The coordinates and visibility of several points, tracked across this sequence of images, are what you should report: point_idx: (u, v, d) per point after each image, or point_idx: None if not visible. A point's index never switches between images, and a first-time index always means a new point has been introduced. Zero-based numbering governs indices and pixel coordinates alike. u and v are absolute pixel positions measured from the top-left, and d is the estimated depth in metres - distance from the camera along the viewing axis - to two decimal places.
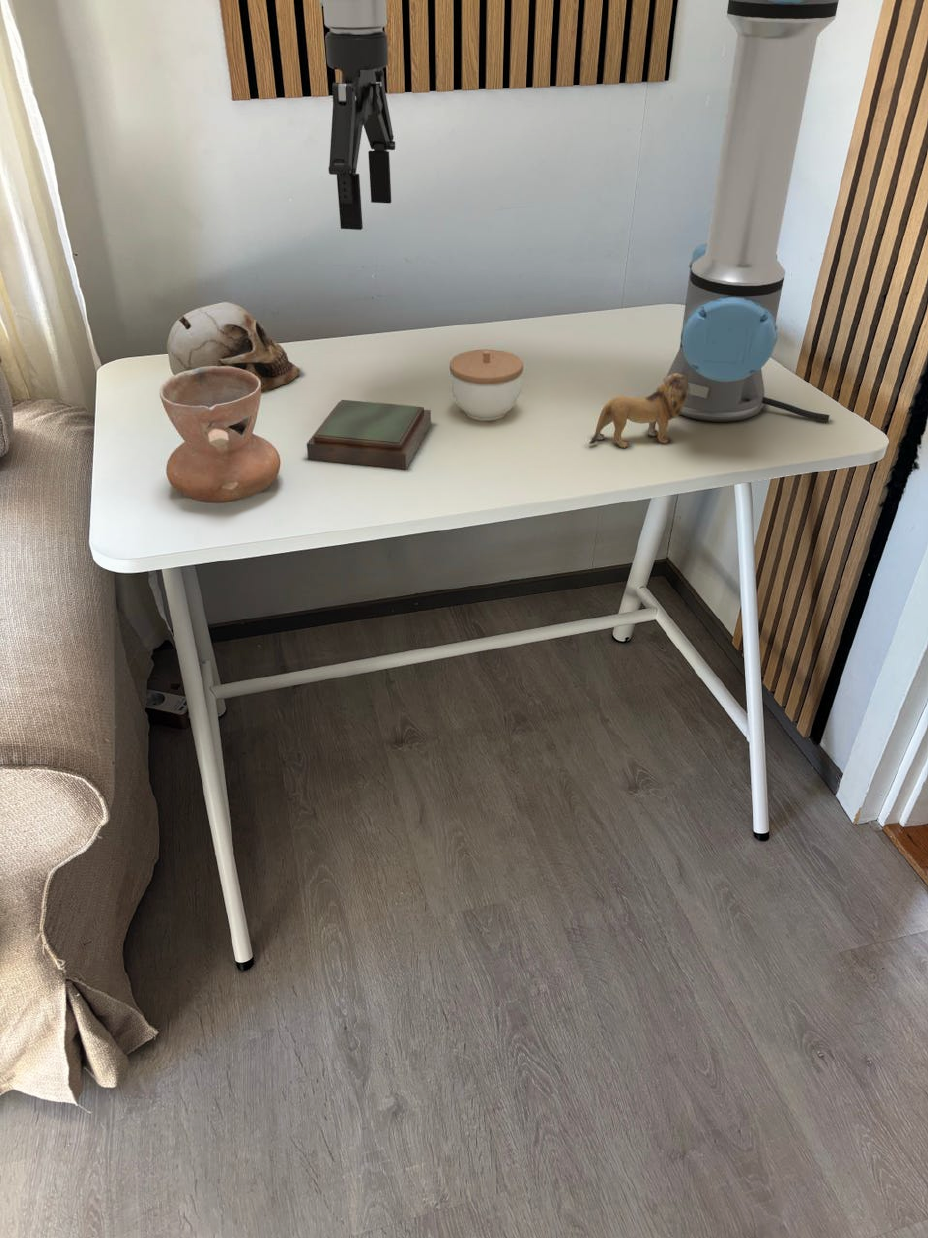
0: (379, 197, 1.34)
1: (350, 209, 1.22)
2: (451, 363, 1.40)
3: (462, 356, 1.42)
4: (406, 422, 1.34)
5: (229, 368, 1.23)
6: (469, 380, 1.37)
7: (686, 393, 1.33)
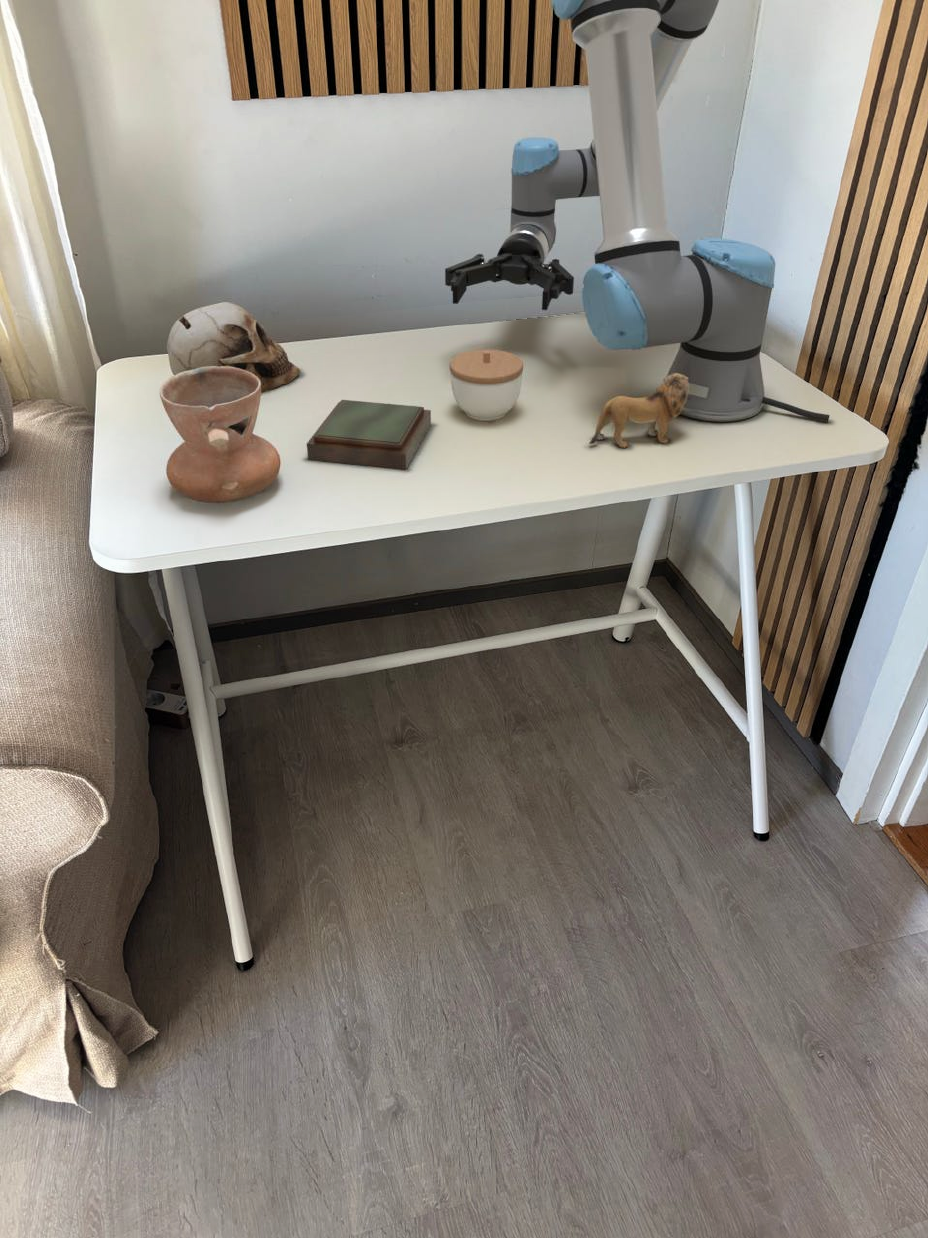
0: None
1: None
2: (451, 363, 1.40)
3: (462, 356, 1.42)
4: (406, 422, 1.34)
5: (229, 368, 1.23)
6: (469, 380, 1.37)
7: (686, 393, 1.33)
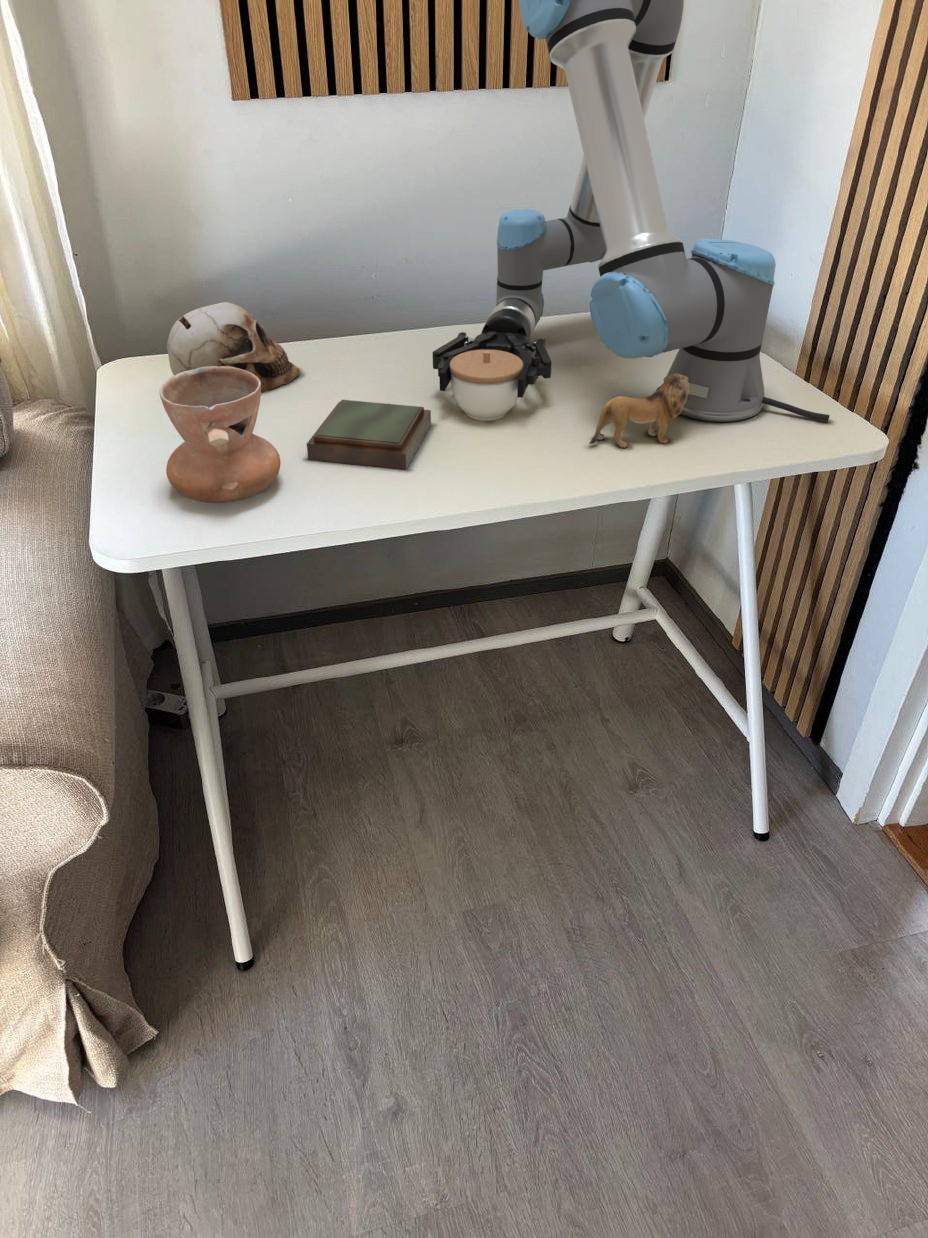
0: None
1: None
2: (451, 363, 1.40)
3: (462, 356, 1.42)
4: (406, 422, 1.34)
5: (229, 368, 1.23)
6: (469, 380, 1.37)
7: (686, 393, 1.33)
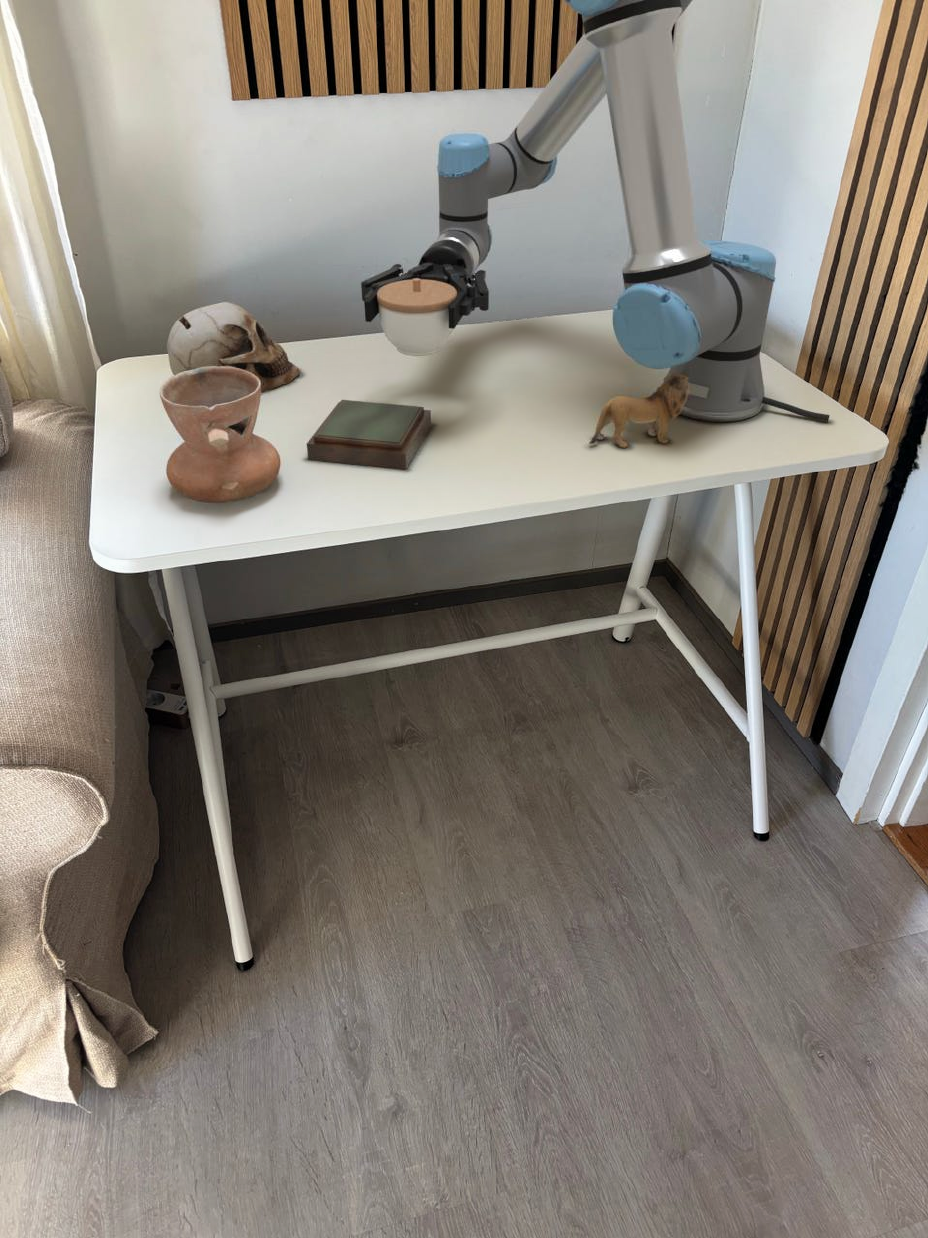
0: None
1: None
2: (378, 292, 1.28)
3: (392, 285, 1.30)
4: (406, 422, 1.34)
5: (229, 368, 1.23)
6: (395, 309, 1.25)
7: (686, 393, 1.33)
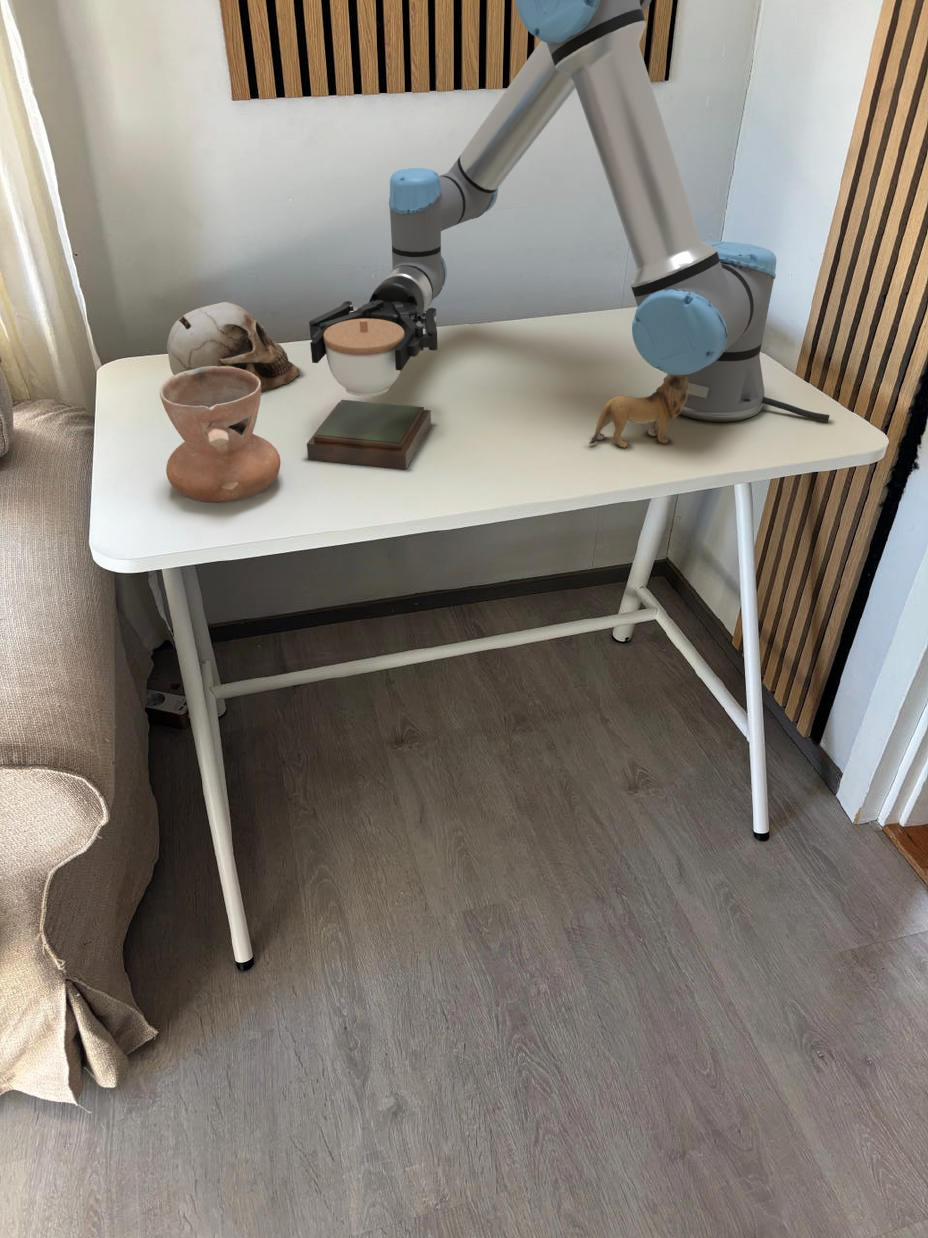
0: None
1: None
2: (325, 332, 1.27)
3: (339, 325, 1.29)
4: (406, 422, 1.34)
5: (229, 368, 1.23)
6: (341, 351, 1.24)
7: (686, 393, 1.33)
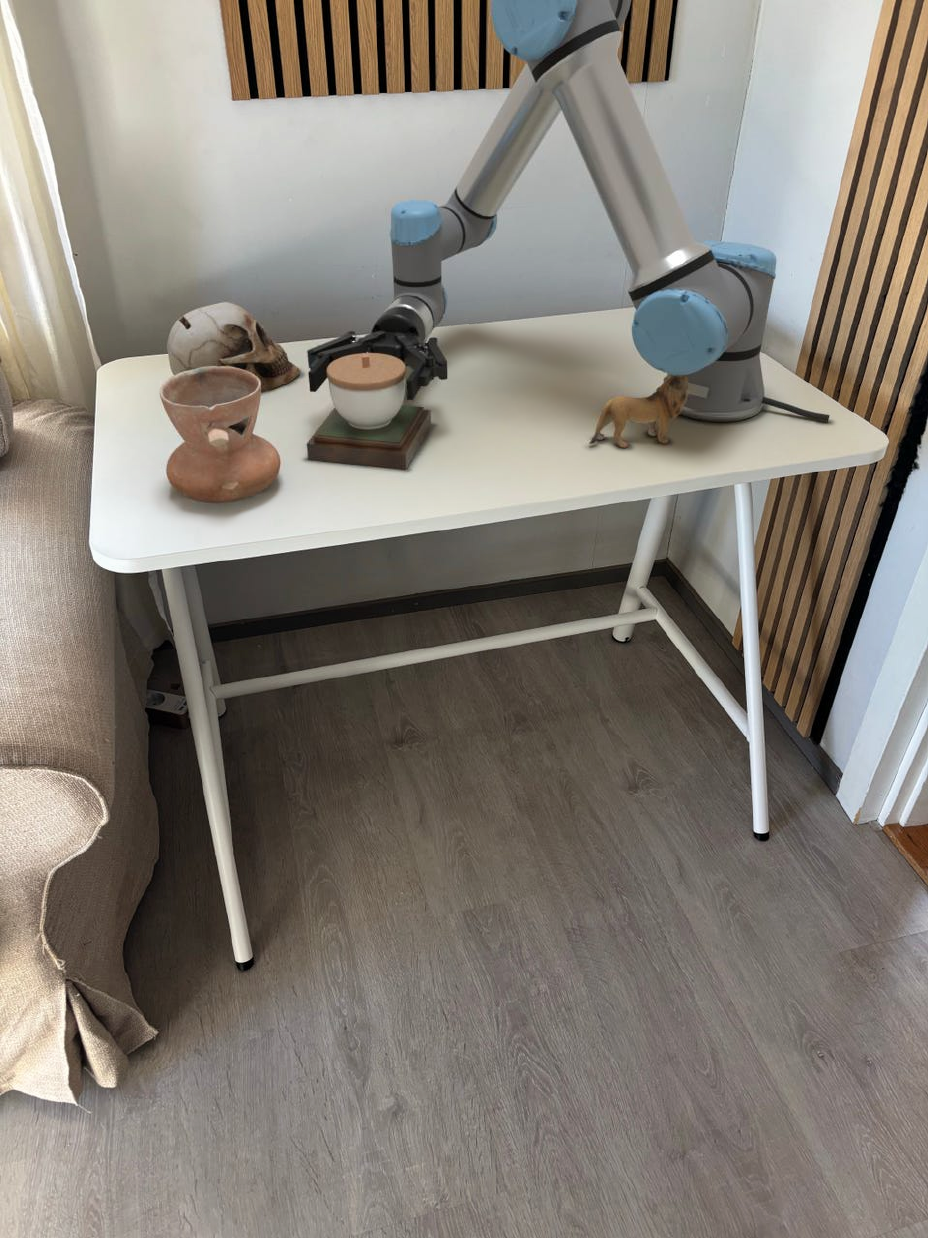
0: None
1: None
2: (328, 368, 1.30)
3: (342, 360, 1.32)
4: (406, 422, 1.34)
5: (229, 368, 1.23)
6: (344, 386, 1.27)
7: (686, 393, 1.33)
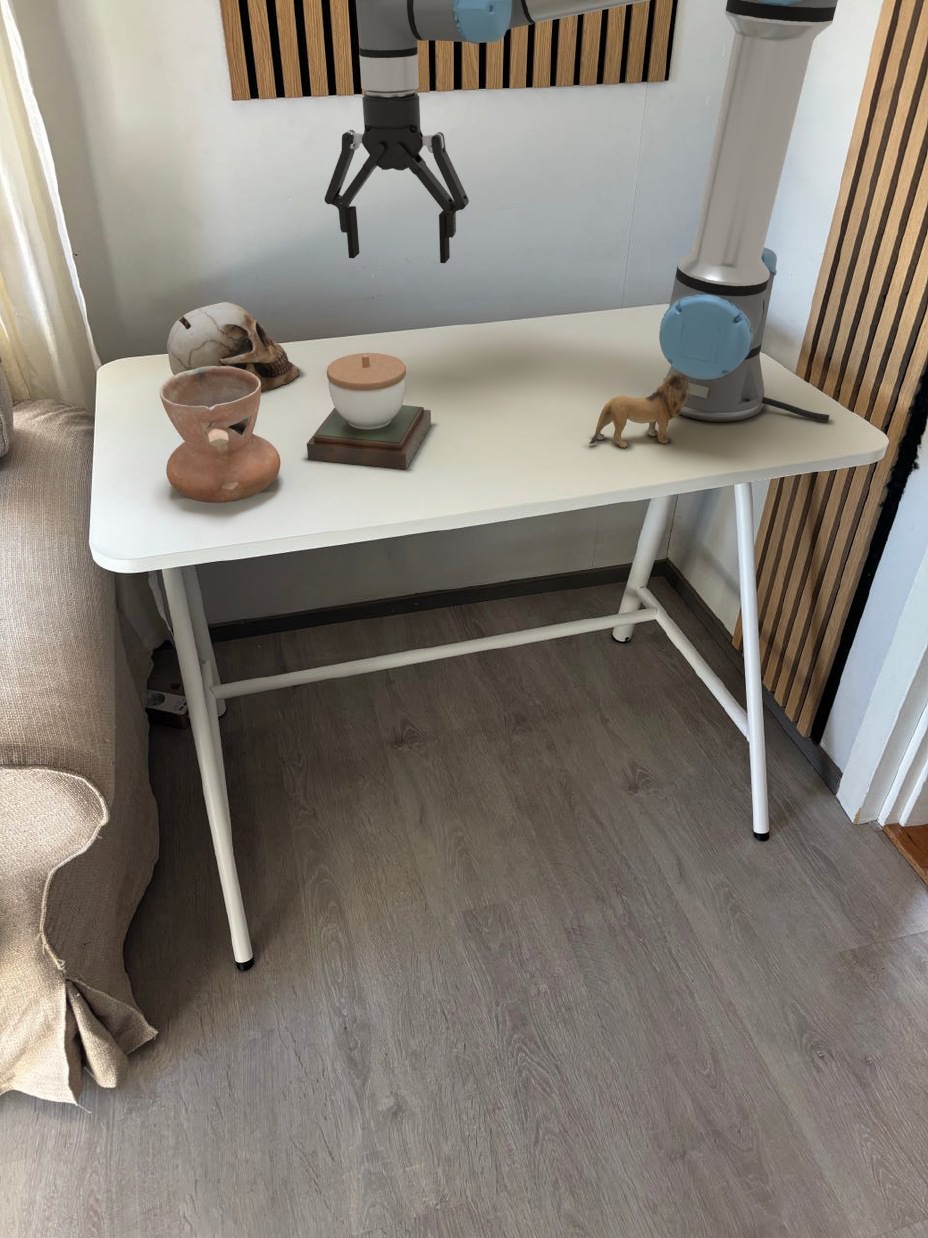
0: None
1: None
2: (328, 368, 1.30)
3: (342, 360, 1.32)
4: (406, 422, 1.34)
5: (229, 368, 1.23)
6: (344, 386, 1.27)
7: (686, 393, 1.33)
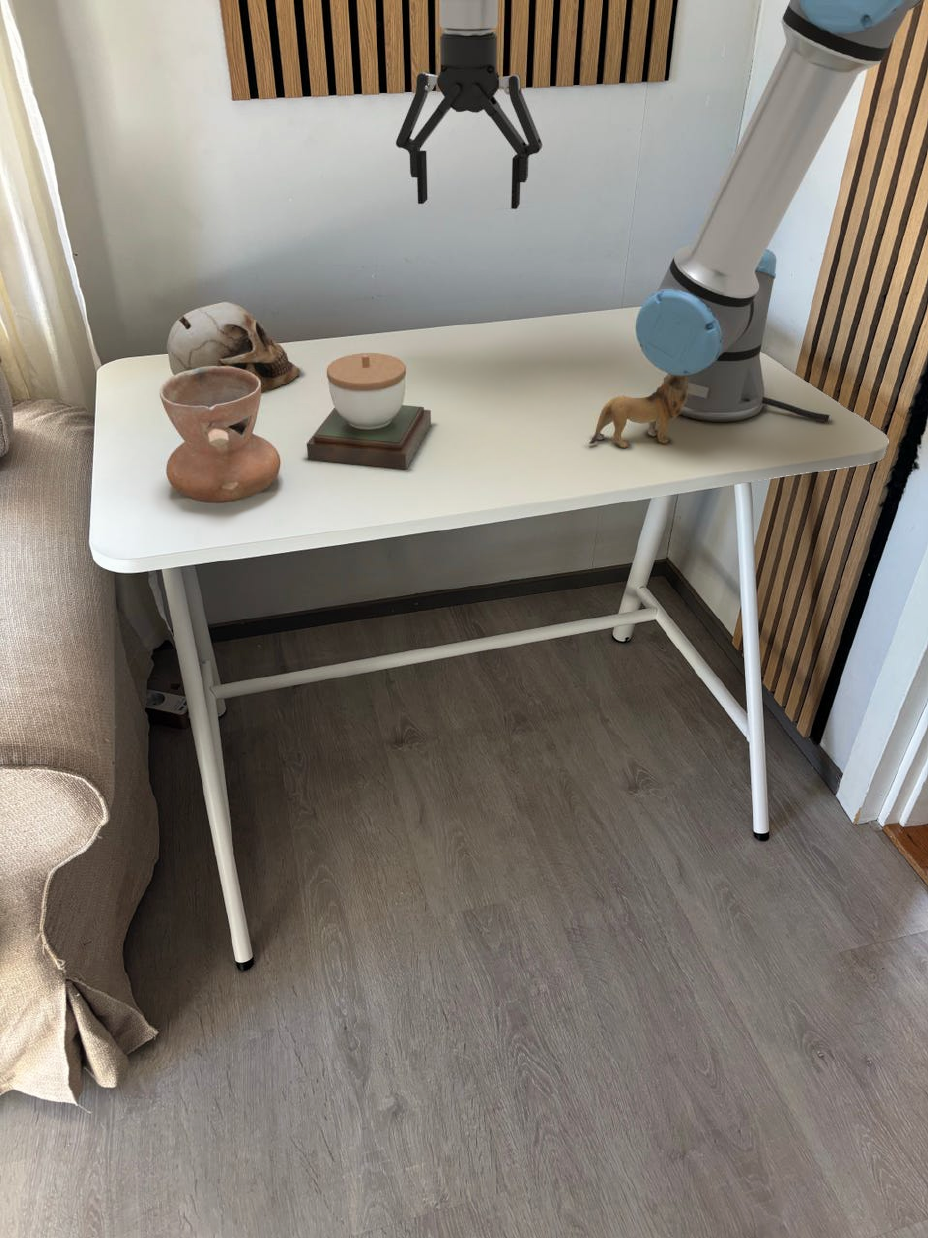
0: None
1: None
2: (328, 368, 1.30)
3: (342, 360, 1.32)
4: (406, 422, 1.34)
5: (229, 368, 1.23)
6: (344, 386, 1.27)
7: (686, 393, 1.33)
